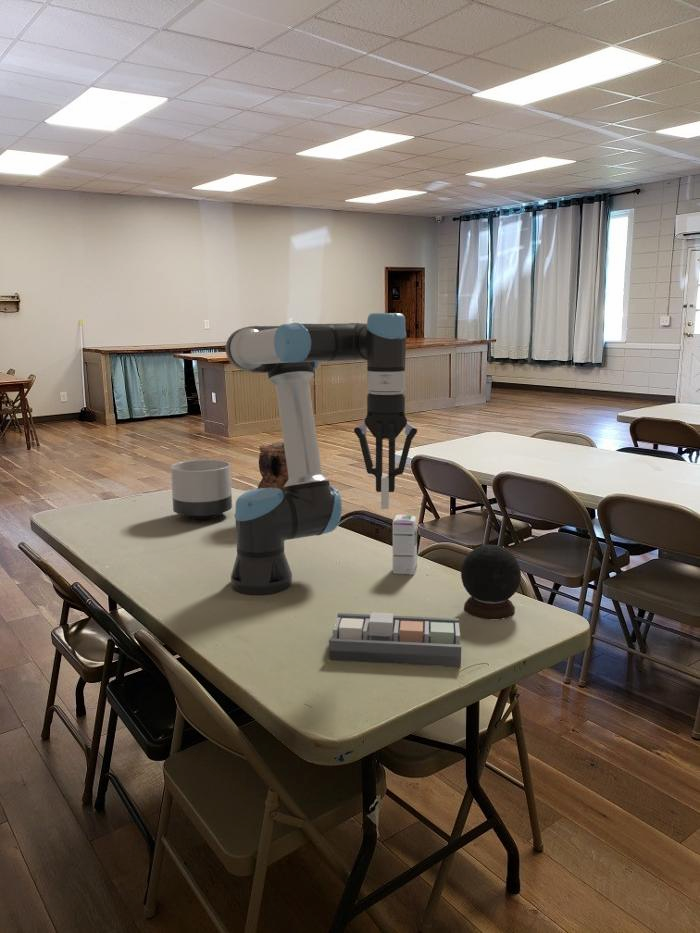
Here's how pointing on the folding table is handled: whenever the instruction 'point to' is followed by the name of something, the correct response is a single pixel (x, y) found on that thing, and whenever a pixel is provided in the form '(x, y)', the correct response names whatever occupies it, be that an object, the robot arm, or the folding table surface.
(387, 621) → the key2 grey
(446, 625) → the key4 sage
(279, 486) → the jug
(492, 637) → the folding table surface
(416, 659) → the keypad board
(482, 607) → the black ball on stand
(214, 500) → the planter
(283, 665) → the folding table surface
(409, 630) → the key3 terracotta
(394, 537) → the syrup box
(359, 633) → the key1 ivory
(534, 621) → the folding table surface
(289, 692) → the folding table surface
